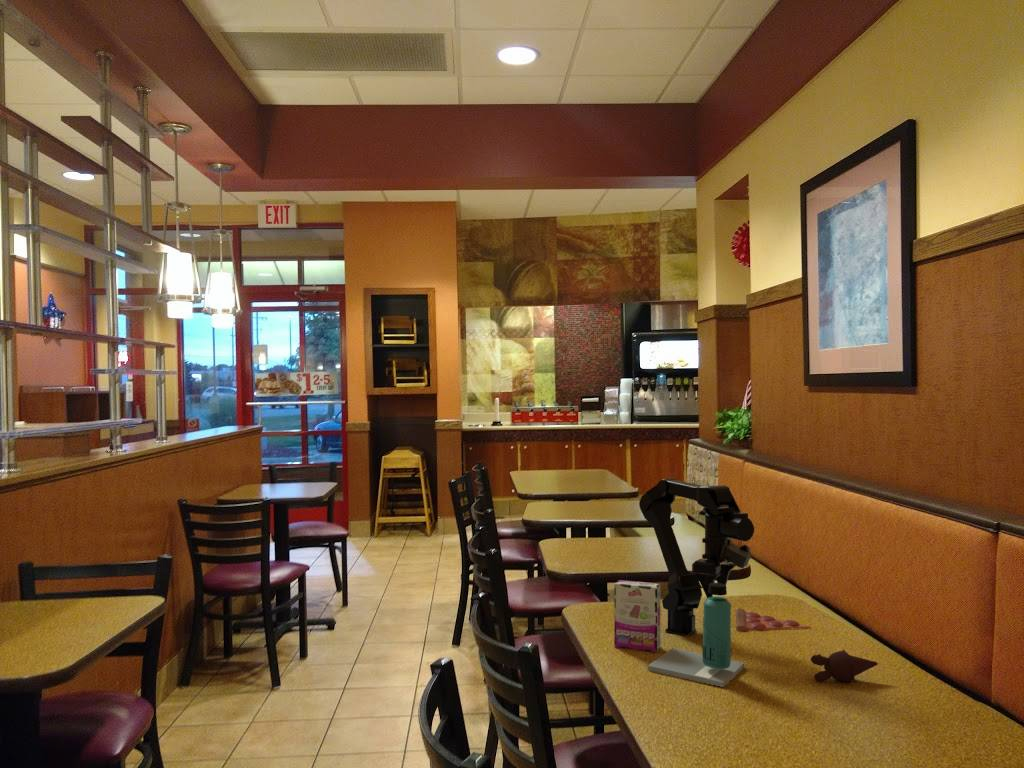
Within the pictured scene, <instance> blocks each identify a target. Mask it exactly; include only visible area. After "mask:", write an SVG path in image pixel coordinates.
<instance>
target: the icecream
mask: <svg viewBox="0 0 1024 768" xmlns="http://www.w3.org/2000/svg"><path fill="white" fill-rule="evenodd" d="M810 662H812V664H813V665H816V666H818V667H819V666H820V667H822V666H823V669H824V670H820V671H818V672H816V673H815V674H814V675H813V678H814V681H816V682H825V681H829V680H830V679H831V678H833V679H835V680H838V681H841V682H845V683H846V682H849V683H850V682H853V681H854V680H855V677H856V676H858V675H860V674H862V673H863V672H866V671H868V670H870V669H871V668H875V667H876V666H878V665H879V663H878V662H877V661H874V660H869V659H866V658H862V657H859V656H854V655H850V654H849V653H848V652H847V651H846V650H845V649H842V650H839V651H835V652H832V653H831V654H830V655H829V656H828V657H827V656H822V654H813V655H811V658H810Z"/></svg>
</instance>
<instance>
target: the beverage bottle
mask: <svg viewBox="0 0 1024 768" xmlns="http://www.w3.org/2000/svg"><path fill="white" fill-rule="evenodd" d="M708 593H709V594H712V595H713V597H709V598H707V597H706V599H705V600H704V601H703V602H702V603H703V604H702V605H703V617H702V629H703V631H702V649H701V650H702V651H701V654H703V660H702V661H703V664H704V665H705V666H707V667H710V668H715V669H726V668H728V667H729V666H730V664H731V663H730V661H731V660H732V653H731V652H732V648H731V647H732V633H731V631H732V630H731V625H732V624H731V623H732V618H731V617H732V616H731V615H732V604H731V602H730V601H729V600H728V599H727V598H725V597H723V596H727V594H728V592H727V584H726V585H725V584H721V583H717V582H715V583H710V584H709V589H708Z"/></svg>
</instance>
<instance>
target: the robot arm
mask: <svg viewBox="0 0 1024 768" xmlns="http://www.w3.org/2000/svg"><path fill="white" fill-rule="evenodd" d="M676 497H681V498H684V499H689V500H693V501H695V502H697V504H698V505H699V506H700V507H703V509H702V510H700V511H699V512H698V514H699V515H700V516H704V537H703V538H702V539H701V540H702V542H701V543H702V544H704V553H703V554H702V555H701V557H702V558H699V559H697V560H695V561H694V562H693V563H692V564H691V572H692V573H691V572H690V571H689V570H688V569H687V566H686V563H685V561H684V558H683V555H682V552H681V549H680V545H679V543H678V540H677V537H676V534H675V532H674V529H673V525H672V524H671V517H672V511H673V509H672V507H671V506H672V504H673V503H674V502H675V501H676ZM638 501H639V503H638V505H639V509H640V511H641V514H642V516H643V518H644V519H645V520H646V521H647V523H649V524H650V525H651V526H652V527H653V531H654V534H655V536H656V540H657V542H658V545H659V548H660V551H661V553H662V556H663V560H664V564H665V565H666V569H667V571H668V575H669V577H668V581H667V590H668V593H667V594H666V595H665V597H663V598H662V599H661V603H662V608H663V609H664V610H667V628H665V629H664V631H665V632H666V633H672V634H676V635H681V636H690V635H691V634H692V633H694V632H695V631H696V630H697V628H696V615H695V614H694V612H695V611H694V610H695V609H699V607H700V602H701V599H702V597H703V592H704V593H705V597H706V599H707V598H709V597H714V595H712V594H709V593H708V589H709V584H710V583H721V584H725V585H726V586H727V584H728V579H729V578H730V577H729V576H730V574H731V571H732V570H734V568H735V567H737V568H740V569H744V568H745V567H748V564H749V561H750V560H751V559H752V552H751V549H750V546H749V545H746V544H742V545H741V546H738V545H737V546H735V545H733V544H732V540H733V539H734V540H736V541H737V540H738V541H742V542H748V541H750V540H751V539H752V537H753V536H754V533H755V526H754V523H753V521H752V520H751V519H750V518H749V514H748V513H747V512H741V509H740V508H739V505H738V504H737V501H736V500H735V497H734V495H733V493H732V492H731V490H730V487H729V486H727V485H701V484H697V483H692V482H686V481H682V480H678V479H677V478H664V479H663V478H662V479H660V480H659V481H658V482H657V484H656V485H654V486H653V487H651V488H650V489H648V490H647V491H646V492H645V493H644V494H642V495H641V498H640V499H639V500H638ZM702 590H703V591H702Z"/></svg>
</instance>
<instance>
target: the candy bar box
mask: <svg viewBox="0 0 1024 768" xmlns="http://www.w3.org/2000/svg"><path fill="white" fill-rule="evenodd" d="M613 589H614V591H613V592H614V594H613V596H614V604H613V605H614V618H613V619H614V621H613V622H614V638H613V639H614V641H613V642H614V643H613V644H614V645H613V646H614V648H617V649H626V650H633V651H640V652H648V653H649V652H650V653H658V652H659V650H660V648H661V647H662V646H661V639H662V637H661V633H662V632H661V631H662V630H661V628H662V627H661V620H662V618H661V603H662V599H661V583H654V582H646V581H644V582H643V581H635V580H623V579H618V580H617V581H616V582H615V583H614V588H613Z"/></svg>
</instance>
